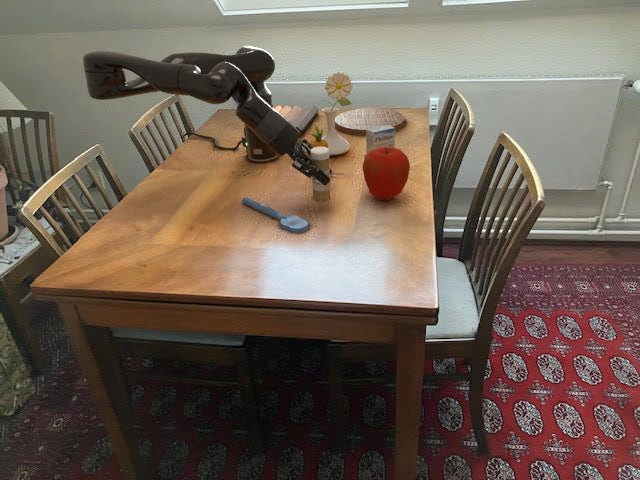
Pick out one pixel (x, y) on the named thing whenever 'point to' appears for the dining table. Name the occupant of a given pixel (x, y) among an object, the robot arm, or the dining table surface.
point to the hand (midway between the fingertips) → (328, 178)
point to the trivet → (368, 120)
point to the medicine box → (380, 137)
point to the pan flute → (298, 116)
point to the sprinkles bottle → (322, 162)
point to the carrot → (319, 139)
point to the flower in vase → (338, 89)
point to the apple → (386, 172)
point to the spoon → (280, 217)
